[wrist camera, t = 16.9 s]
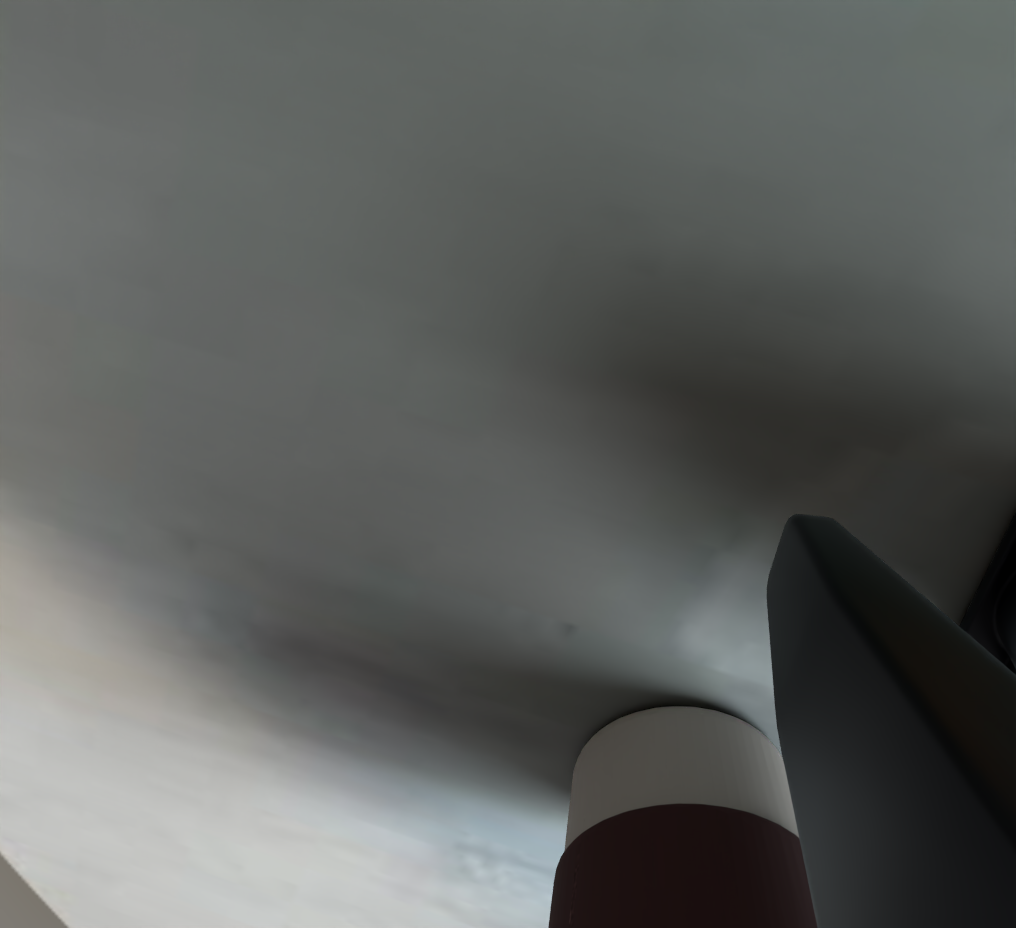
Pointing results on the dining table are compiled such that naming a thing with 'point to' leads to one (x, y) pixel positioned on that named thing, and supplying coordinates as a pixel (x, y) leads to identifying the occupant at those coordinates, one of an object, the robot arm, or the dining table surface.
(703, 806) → the coffee cup
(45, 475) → the dining table surface
